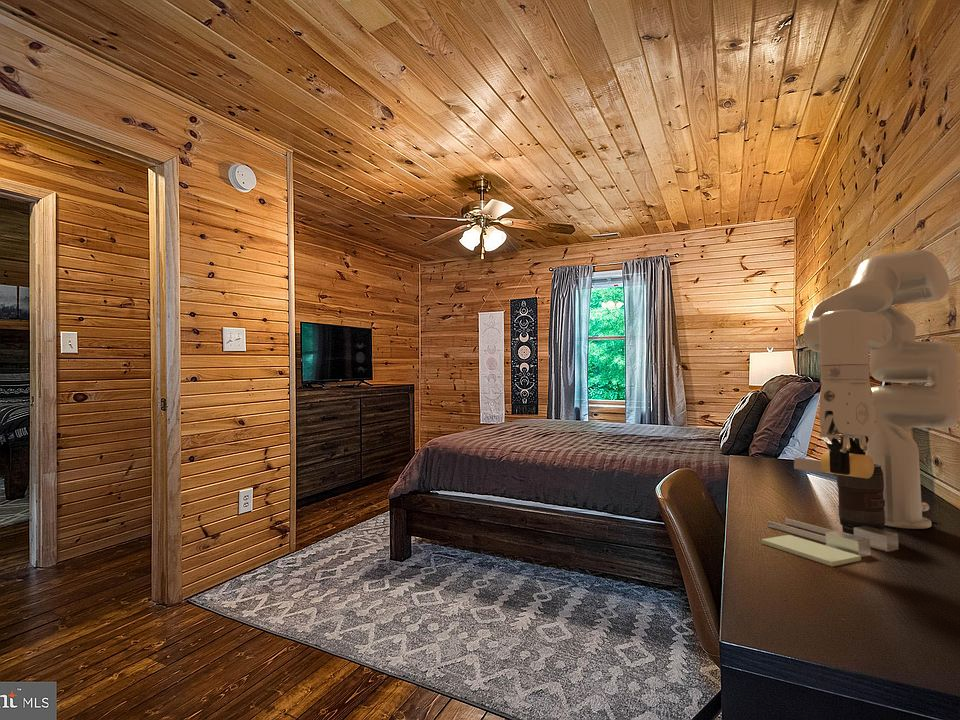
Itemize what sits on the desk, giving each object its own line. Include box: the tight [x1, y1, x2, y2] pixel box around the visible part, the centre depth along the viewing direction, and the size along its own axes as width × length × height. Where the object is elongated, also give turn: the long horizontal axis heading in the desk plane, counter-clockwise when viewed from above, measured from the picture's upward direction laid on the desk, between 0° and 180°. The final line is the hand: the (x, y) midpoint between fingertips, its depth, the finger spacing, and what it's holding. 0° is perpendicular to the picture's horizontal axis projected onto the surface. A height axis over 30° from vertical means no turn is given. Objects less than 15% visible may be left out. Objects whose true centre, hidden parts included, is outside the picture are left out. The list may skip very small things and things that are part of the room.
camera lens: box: [836, 464, 885, 535], centre depth 108 cm, size 8×8×15 cm
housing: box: [767, 517, 900, 558], centre depth 105 cm, size 12×21×3 cm, turn 22°
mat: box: [761, 534, 862, 567], centre depth 97 cm, size 8×14×1 cm, turn 22°
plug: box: [793, 450, 874, 479], centre depth 97 cm, size 4×13×4 cm, turn 23°
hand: (848, 471), depth 94 cm, fingers closed on plug, 4 cm apart
